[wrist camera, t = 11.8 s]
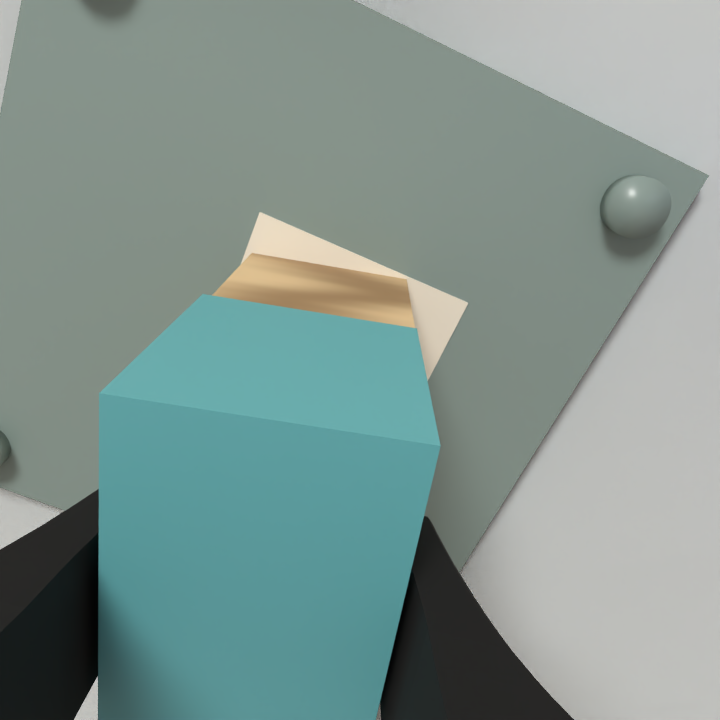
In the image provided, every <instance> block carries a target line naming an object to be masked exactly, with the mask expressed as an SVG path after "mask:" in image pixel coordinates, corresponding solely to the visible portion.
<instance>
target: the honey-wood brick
mask: <svg viewBox="0 0 720 720" xmlns="http://www.w3.org/2000/svg"><path fill="white" fill-rule="evenodd" d="M212 296H219V297H225V298H231V299H237V300H243V301H250V302H256V303H262V304H268V305H275V306H281V307H287V308H293V309H299V310H306V311H312V312H318V313H324V314H331V315H337V316H343V317H349V318H355V319H362V320H368V321H374V322H380V323H387V324H393V325H399V326H405V327H411V328H415V325H414V319H413V313H412V307H411V302H410V296H409V290H408V284H407V279H403V278H397V277H391V276H385V275H379V274H373V273H368V272H362V271H356V270H350V269H344V268H338V267H332V266H326V265H320V264H314V263H308V262H303V261H297V260H291V259H285V258H279V257H273V256H267V255H261V254H255V253H251V254H250V255H249V256H248V257H247V258H246V260H245V261H244V262H243V263H242V264H241V265H240V266H239V267H238V268H237V269H236V270H235V271H234V272H233V273H232V274H231V276H230V277H229V278H228V279H227V280H226V281H225V282H224V283H223V284H222V285H221V286H220V287H219V288H218V289H217V290H216V292H215V293H214V294H213V295H212Z"/></svg>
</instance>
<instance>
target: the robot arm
mask: <svg viewBox="0 0 720 720" xmlns="http://www.w3.org/2000/svg"><path fill="white" fill-rule="evenodd" d="M98 568H99V489H97V490H96V491H94V492H93V493H91V494H90V495H88V496H87V497H85V498H84V499H82V500H81V501H79V502H78V503H76V504H75V505H73V506H72V507H70V508H69V509H67V510H66V511H64V512H62V513H61V514H59V515H58V516H56V517H55V518H53V519H51V520H50V521H48V522H47V523H45V524H44V525H42V526H40V527H39V528H37V529H35V530H33V531H32V532H30V533H28V534H27V535H25V536H23V537H21V538H20V539H18V540H16V541H15V542H13V543H11V544H9V545H8V546H6V547H4V548H2V549H1V550H0V720H74V718H75V716H76V714H77V712H78V711H79V709H80V707H81V705H82V703H83V702H84V700H85V698H86V696H87V694H88V692H89V691H90V689H91V687H92V685H93V683H94V682H95V680H96V678H97V676H98ZM380 706H381V720H574V719H573V718H572V717H571V716H570V715H569V714H568V713H567V712H566V711H565V710H564V709H563V708H562V707H561V706H560V705H559V704H558V703H557V702H556V701H555V700H554V699H553V698H552V697H551V696H550V694H549V693H548V692H547V691H546V690H545V689H544V688H543V687H542V686H541V685H540V683H539V682H538V681H537V680H536V679H535V678H534V677H533V675H532V674H531V673H530V672H529V671H528V669H527V668H526V667H525V666H524V665H523V663H522V662H521V661H520V660H519V659H518V657H517V656H516V655H515V654H514V653H513V651H512V650H511V649H510V648H509V646H508V645H507V644H506V642H505V641H504V640H503V638H502V637H501V636H500V634H499V633H498V631H497V630H496V629H495V627H494V626H493V624H492V623H491V621H490V620H489V619H488V617H487V616H486V614H485V613H484V611H483V610H482V608H481V607H480V605H479V604H478V602H477V601H476V599H475V598H474V596H473V594H472V593H471V591H470V589H469V588H468V586H467V585H466V583H465V581H464V580H463V578H462V577H461V575H460V573H459V572H458V570H457V568H456V566H455V565H454V563H453V561H452V559H451V558H450V556H449V554H448V552H447V550H446V549H445V547H444V545H443V543H442V541H441V539H440V537H439V535H438V534H437V532H436V530H435V528H434V526H433V524H432V522H431V521H430V519H429V518H428V517H426V516H424V518H423V522H422V527H421V531H420V535H419V539H418V544H417V548H416V552H415V556H414V560H413V565H412V569H411V573H410V577H409V582H408V586H407V590H406V594H405V598H404V603H403V607H402V611H401V615H400V620H399V624H398V628H397V632H396V636H395V641H394V645H393V649H392V653H391V658H390V662H389V666H388V670H387V674H386V679H385V683H384V687H383V691H382V696H381V700H380Z"/></svg>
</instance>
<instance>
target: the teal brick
mask: <svg viewBox="0 0 720 720" xmlns="http://www.w3.org/2000/svg"><path fill="white" fill-rule="evenodd" d="M440 446H441V445H440V440H439V435H438V430H437V425H436V421H435V416H434V411H433V406H432V401H431V396H430V391H429V386H428V381H427V376H426V371H425V366H424V361H423V356H422V351H421V346H420V341H419V336H418V332H417V328H411V327H405V326H399V325H393V324H387V323H380V322H374V321H368V320H362V319H355V318H349V317H343V316H337V315H331V314H324V313H318V312H312V311H306V310H299V309H293V308H287V307H281V306H275V305H268V304H262V303H256V302H250V301H243V300H237V299H231V298H225V297H219V296H212V295H206V294H202V295H201V296H200V297H199V298H198V299H197V300H196V301H195V302H194V303H193V304H192V305H191V306H190V307H189V308H188V309H186V310H185V311H184V312H183V313H182V314H181V315H180V316H179V317H178V318H177V319H176V320H175V321H174V322H173V323H172V324H171V325H170V326H169V327H168V328H167V329H166V330H165V331H163V332H162V333H161V334H160V335H159V336H158V337H157V338H156V339H155V340H154V341H153V342H152V343H151V344H150V345H149V346H148V347H147V348H146V349H145V350H144V351H143V352H142V353H141V354H139V355H138V356H137V357H136V358H135V359H134V360H133V361H132V362H131V363H130V364H129V365H128V366H127V367H126V368H125V369H124V370H123V371H122V372H121V373H120V374H119V375H118V376H116V377H115V378H114V379H113V380H112V381H111V382H110V383H109V384H108V385H107V386H106V387H105V388H104V389H103V390H102V391H101V392H100V393H99V568H98V720H376V717H377V712H378V708H379V704H380V700H381V696H382V691H383V687H384V683H385V679H386V674H387V670H388V666H389V662H390V658H391V653H392V649H393V645H394V641H395V636H396V632H397V628H398V624H399V620H400V615H401V611H402V607H403V603H404V598H405V594H406V590H407V586H408V582H409V577H410V573H411V569H412V565H413V560H414V556H415V552H416V548H417V544H418V539H419V535H420V531H421V527H422V522H423V518H424V514H425V510H426V506H427V501H428V497H429V493H430V489H431V484H432V480H433V476H434V472H435V468H436V463H437V459H438V455H439V451H440Z"/></svg>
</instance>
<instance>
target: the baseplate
mask: <svg viewBox="0 0 720 720" xmlns="http://www.w3.org/2000/svg"><path fill="white" fill-rule="evenodd" d="M708 176H709V175H707V174H705V173H703V172H701V171H699V170H696V169H694V168H692V167H690V166H688V165H686V164H684V163H682V162H680V161H678V160H676V159H674V158H672V157H670V156H668V155H666V154H664V153H662V152H660V151H658V150H656V149H654V148H652V147H650V146H648V145H646V144H644V143H642V142H640V141H638V140H636V139H634V138H632V137H630V136H627V135H625V134H623V133H621V132H619V131H617V130H615V129H613V128H611V127H609V126H607V125H605V124H603V123H601V122H599V121H597V120H595V119H593V118H591V117H589V116H587V115H585V114H583V113H581V112H579V111H577V110H575V109H573V108H571V107H569V106H567V105H565V104H563V103H561V102H558V101H556V100H554V99H552V98H550V97H548V96H546V95H544V94H542V93H540V92H538V91H536V90H534V89H532V88H530V87H528V86H526V85H524V84H522V83H520V82H518V81H516V80H514V79H512V78H510V77H508V76H506V75H504V74H502V73H500V72H498V71H496V70H494V69H492V68H490V67H487V66H485V65H483V64H481V63H479V62H477V61H475V60H473V59H471V58H469V57H467V56H465V55H463V54H461V53H459V52H457V51H455V50H453V49H451V48H449V47H447V46H445V45H443V44H441V43H439V42H437V41H435V40H433V39H431V38H429V37H427V36H425V35H423V34H421V33H418V32H416V31H414V30H412V29H410V28H408V27H406V26H404V25H402V24H400V23H398V22H396V21H394V20H392V19H390V18H388V17H386V16H384V15H382V14H380V13H378V12H376V11H374V10H372V9H370V8H368V7H366V6H364V5H362V4H360V3H358V2H356V1H354V0H22V1H21V6H20V12H19V17H18V22H17V28H16V33H15V38H14V43H13V49H12V54H11V59H10V65H9V70H8V75H7V80H6V86H5V91H4V96H3V102H2V107H1V112H0V488H3V489H6V490H8V491H11V492H14V493H17V494H20V495H23V496H25V497H28V498H31V499H34V500H37V501H39V502H42V503H45V504H48V505H51V506H53V507H56V508H59V509H62V510H65V511H66V510H67V509H69V508H70V507H72V506H73V505H75V504H76V503H78V502H79V501H81V500H82V499H84V498H85V497H87V496H88V495H90V494H91V493H93V492H94V491H96V490H97V489H99V393H100V392H101V391H102V390H103V389H104V388H105V387H106V386H107V385H108V384H109V383H110V382H111V381H112V380H113V379H114V378H115V377H116V376H118V375H119V374H120V373H121V372H122V371H123V370H124V369H125V368H126V367H127V366H128V365H129V364H130V363H131V362H132V361H133V360H134V359H135V358H136V357H137V356H138V355H139V354H141V353H142V352H143V351H144V350H145V349H146V348H147V347H148V346H149V345H150V344H151V343H152V342H153V341H154V340H155V339H156V338H157V337H158V336H159V335H160V334H161V333H162V332H163V331H165V330H166V329H167V328H168V327H169V326H170V325H171V324H172V323H173V322H174V321H175V320H176V319H177V318H178V317H179V316H180V315H181V314H182V313H183V312H184V311H185V310H186V309H188V308H189V307H190V306H191V305H192V304H193V303H194V302H195V301H196V300H197V299H198V298H199V297H200V296H201V295H202V294H206V295H213V294H214V293H215V292H216V290H217V289H218V288H219V287H220V286H221V285H222V284H223V283H224V282H225V281H226V280H227V279H228V278H229V277H230V276H231V274H232V273H233V272H234V271H235V270H236V269H237V268H238V267H239V266H240V265H241V264H242V263H243V262H244V261H245V260H246V258H247V257H248V256H249V255H250V254H251V253H255V254H261V255H267V256H273V257H279V258H285V259H291V260H297V261H303V262H308V263H314V264H320V265H326V266H332V267H338V268H344V269H350V270H356V271H362V272H368V273H373V274H379V275H385V276H391V277H397V278H403V279H407V284H408V290H409V296H410V302H411V307H412V313H413V319H414V325H415V328H417V332H418V336H419V341H420V346H421V351H422V356H423V361H424V366H425V371H426V376H427V381H428V386H429V391H430V396H431V401H432V406H433V411H434V416H435V421H436V425H437V430H438V435H439V440H440V445H441V446H440V451H439V455H438V459H437V463H436V468H435V472H434V476H433V480H432V484H431V489H430V493H429V497H428V501H427V506H426V510H425V514H424V516H426V517H428V518H429V519H430V521H431V522H432V524H433V526H434V528H435V530H436V532H437V534H438V535H439V537H440V539H441V541H442V543H443V545H444V547H445V549H446V550H447V552H448V554H449V556H450V558H451V559H452V561H453V563H454V565H455V566H456V568H457V570H458V572H460V570H461V569H462V567H463V566H464V564H465V562H466V561H467V559H468V558H469V556H470V554H471V553H472V551H473V550H474V548H475V546H476V545H477V543H478V542H479V540H480V539H481V537H482V535H483V534H484V532H485V531H486V529H487V527H488V526H489V524H490V523H491V521H492V519H493V518H494V516H495V515H496V513H497V512H498V510H499V508H500V507H501V505H502V504H503V502H504V500H505V499H506V497H507V496H508V494H509V492H510V491H511V489H512V488H513V486H514V485H515V483H516V481H517V480H518V478H519V477H520V475H521V473H522V472H523V470H524V469H525V467H526V465H527V464H528V462H529V461H530V459H531V458H532V456H533V454H534V453H535V451H536V450H537V448H538V446H539V445H540V443H541V442H542V440H543V438H544V437H545V435H546V434H547V432H548V431H549V429H550V427H551V426H552V424H553V423H554V421H555V419H556V418H557V416H558V415H559V413H560V411H561V410H562V408H563V407H564V405H565V404H566V402H567V400H568V399H569V397H570V396H571V394H572V392H573V391H574V389H575V388H576V386H577V384H578V383H579V381H580V380H581V378H582V377H583V375H584V373H585V372H586V370H587V369H588V367H589V365H590V364H591V362H592V361H593V359H594V358H595V356H596V354H597V353H598V351H599V350H600V348H601V346H602V345H603V343H604V342H605V340H606V338H607V337H608V335H609V334H610V332H611V331H612V329H613V327H614V326H615V324H616V323H617V321H618V319H619V318H620V316H621V315H622V313H623V311H624V310H625V308H626V307H627V305H628V304H629V302H630V300H631V299H632V297H633V296H634V294H635V292H636V291H637V289H638V288H639V286H640V284H641V283H642V281H643V280H644V278H645V277H646V275H647V273H648V272H649V270H650V269H651V267H652V265H653V264H654V262H655V261H656V259H657V257H658V256H659V254H660V253H661V251H662V250H663V248H664V246H665V245H666V243H667V242H668V240H669V238H670V237H671V235H672V234H673V232H674V230H675V229H676V227H677V226H678V224H679V223H680V221H681V219H682V218H683V216H684V215H685V213H686V211H687V210H688V208H689V207H690V205H691V203H692V202H693V200H694V199H695V197H696V196H697V194H698V192H699V191H700V189H701V188H702V186H703V184H704V183H705V181H706V180H707V178H708Z"/></svg>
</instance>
